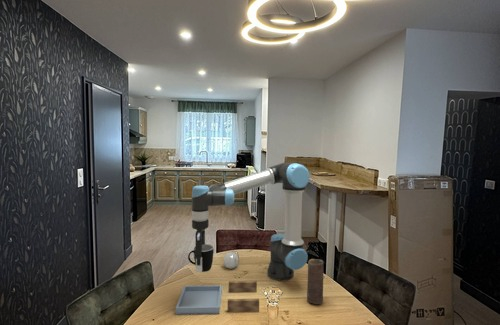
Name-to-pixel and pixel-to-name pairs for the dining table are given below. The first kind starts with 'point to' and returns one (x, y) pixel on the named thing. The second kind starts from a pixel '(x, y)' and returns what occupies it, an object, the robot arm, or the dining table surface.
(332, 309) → the dining table surface
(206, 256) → the mug
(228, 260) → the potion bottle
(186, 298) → the tray
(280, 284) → the dining table surface
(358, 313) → the dining table surface
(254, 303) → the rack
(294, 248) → the robot arm
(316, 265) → the candle
